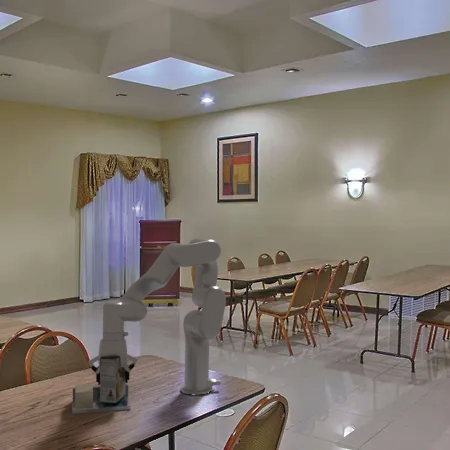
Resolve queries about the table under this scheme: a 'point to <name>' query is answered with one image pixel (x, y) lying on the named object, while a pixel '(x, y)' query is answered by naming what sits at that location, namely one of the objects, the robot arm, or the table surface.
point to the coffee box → (111, 379)
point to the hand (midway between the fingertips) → (112, 382)
